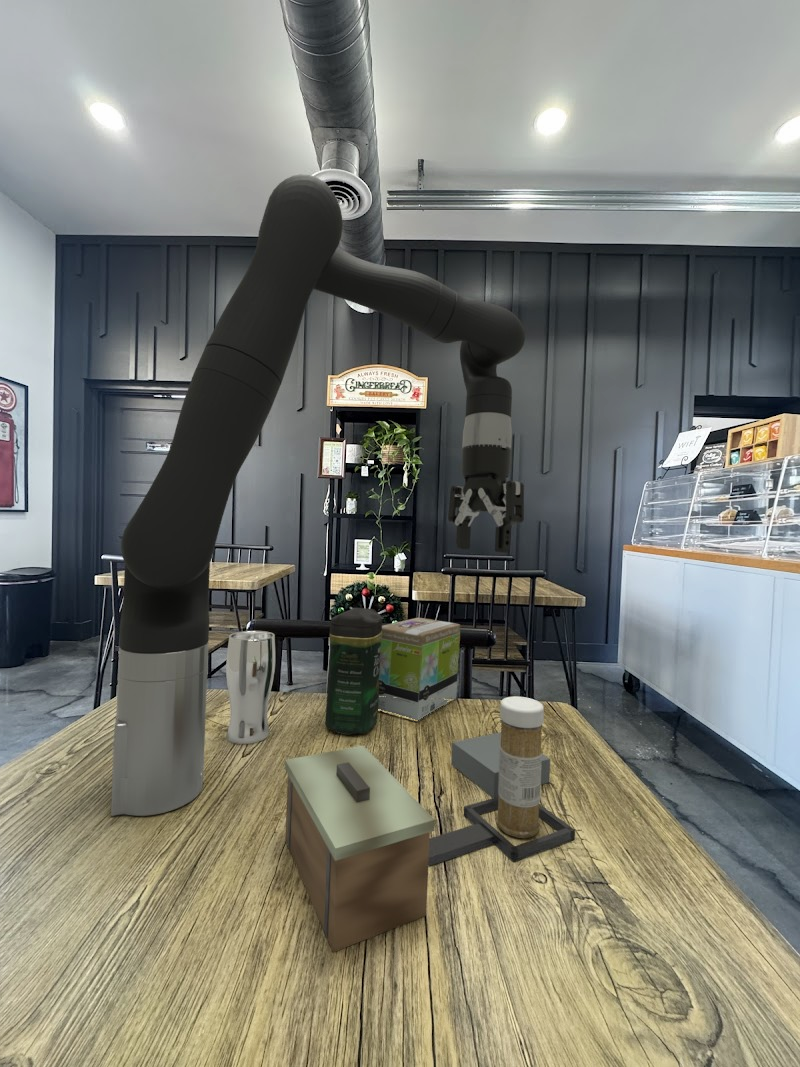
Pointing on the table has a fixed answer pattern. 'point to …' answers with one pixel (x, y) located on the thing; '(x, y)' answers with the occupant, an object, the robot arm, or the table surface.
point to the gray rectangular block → (485, 761)
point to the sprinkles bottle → (520, 766)
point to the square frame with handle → (494, 836)
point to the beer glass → (249, 684)
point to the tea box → (418, 666)
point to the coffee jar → (354, 671)
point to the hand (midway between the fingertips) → (481, 550)
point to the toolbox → (357, 844)
